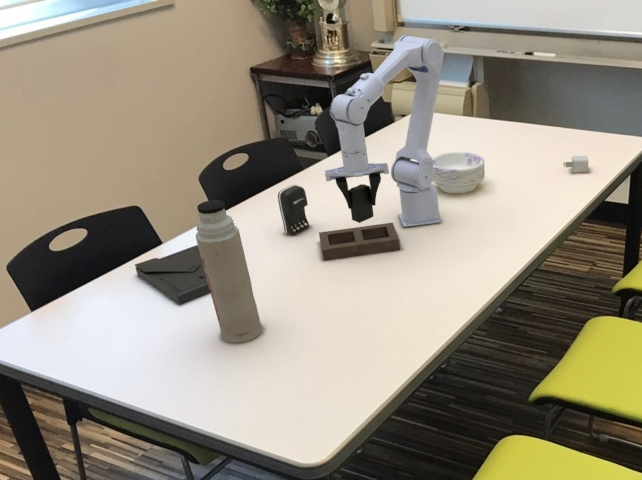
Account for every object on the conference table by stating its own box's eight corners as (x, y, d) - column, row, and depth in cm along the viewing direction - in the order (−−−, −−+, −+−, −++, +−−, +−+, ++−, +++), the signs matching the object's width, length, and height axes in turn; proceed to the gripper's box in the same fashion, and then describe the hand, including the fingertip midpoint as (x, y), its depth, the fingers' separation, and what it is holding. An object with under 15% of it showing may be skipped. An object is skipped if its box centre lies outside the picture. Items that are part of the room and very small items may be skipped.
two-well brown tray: (393, 232, 200) (392, 222, 199) (400, 249, 192) (399, 239, 191) (320, 242, 197) (318, 232, 196) (323, 260, 189) (321, 249, 187)
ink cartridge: (367, 214, 193) (363, 182, 189) (374, 216, 192) (370, 185, 187) (352, 221, 190) (347, 189, 186) (358, 223, 189) (353, 191, 184)
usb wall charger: (587, 173, 228) (588, 159, 226) (563, 174, 229) (564, 160, 226) (586, 168, 232) (587, 154, 229) (562, 169, 232) (563, 155, 230)
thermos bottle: (218, 344, 160) (183, 214, 144) (225, 323, 166) (192, 197, 150) (258, 341, 160) (227, 211, 144) (264, 320, 167) (235, 194, 151)
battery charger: (294, 237, 200) (286, 194, 194) (283, 234, 202) (275, 191, 196) (314, 227, 205) (306, 184, 198) (303, 224, 207) (295, 182, 200)
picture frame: (137, 275, 186) (179, 304, 174) (134, 264, 185) (176, 293, 172) (199, 252, 195) (243, 279, 183) (196, 242, 194) (240, 268, 181)
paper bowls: (495, 183, 225) (494, 155, 220) (465, 202, 215) (464, 173, 210) (451, 174, 232) (449, 147, 227) (420, 192, 222) (417, 164, 217)
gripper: (323, 159, 177) (332, 216, 185) (387, 151, 179) (394, 207, 187) (320, 148, 183) (329, 204, 190) (383, 141, 185) (389, 196, 193)
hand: (361, 205), depth 189 cm, fingers closed on ink cartridge, 5 cm apart
